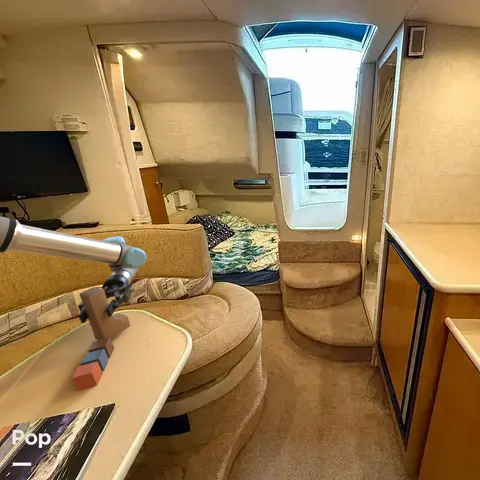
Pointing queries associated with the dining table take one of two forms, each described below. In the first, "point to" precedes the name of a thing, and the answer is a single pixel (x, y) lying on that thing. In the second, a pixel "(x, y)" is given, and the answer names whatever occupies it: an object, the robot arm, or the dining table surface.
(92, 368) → the cube row
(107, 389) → the dining table surface
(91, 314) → the wooden block
